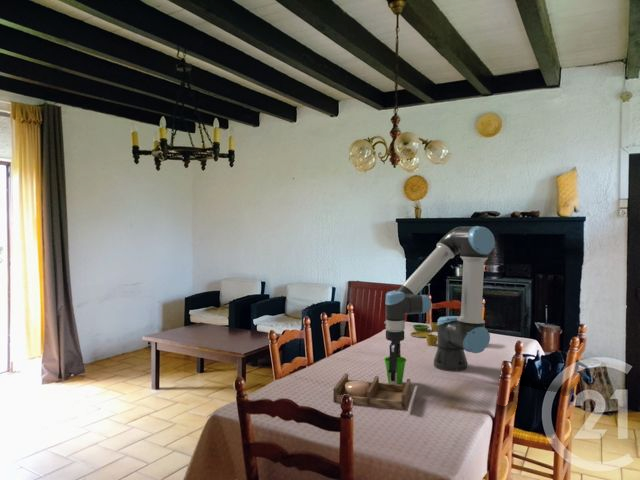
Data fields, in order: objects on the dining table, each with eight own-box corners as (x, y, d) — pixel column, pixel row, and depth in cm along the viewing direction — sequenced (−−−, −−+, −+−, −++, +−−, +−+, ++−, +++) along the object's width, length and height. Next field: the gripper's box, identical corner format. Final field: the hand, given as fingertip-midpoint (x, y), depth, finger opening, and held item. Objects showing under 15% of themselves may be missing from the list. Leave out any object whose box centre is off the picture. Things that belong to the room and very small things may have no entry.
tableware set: (463, 348, 249) (463, 336, 249) (410, 346, 254) (410, 334, 254) (455, 331, 290) (455, 320, 289) (410, 329, 295) (410, 319, 295)
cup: (406, 390, 186) (406, 362, 185) (383, 389, 188) (383, 361, 187) (406, 382, 195) (406, 356, 194) (384, 381, 196) (384, 355, 196)
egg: (370, 392, 181) (370, 382, 181) (366, 400, 173) (366, 389, 173) (348, 390, 184) (348, 380, 184) (342, 398, 175) (342, 387, 175)
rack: (410, 394, 181) (410, 379, 181) (405, 412, 164) (405, 395, 164) (345, 388, 189) (345, 373, 189) (333, 404, 172) (333, 388, 172)
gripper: (389, 323, 202) (390, 374, 203) (381, 335, 181) (381, 392, 181) (407, 324, 200) (407, 376, 201) (400, 336, 178) (400, 394, 179)
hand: (395, 383), depth 191 cm, fingers open, 10 cm apart
